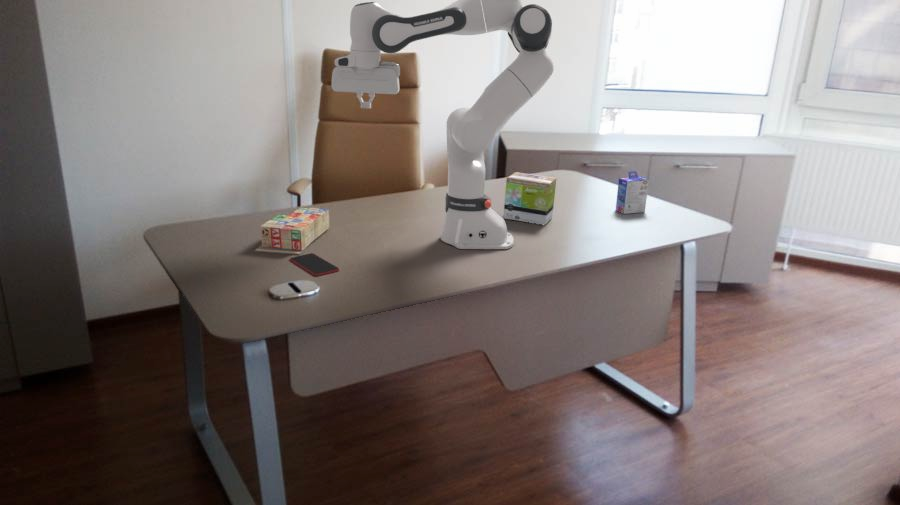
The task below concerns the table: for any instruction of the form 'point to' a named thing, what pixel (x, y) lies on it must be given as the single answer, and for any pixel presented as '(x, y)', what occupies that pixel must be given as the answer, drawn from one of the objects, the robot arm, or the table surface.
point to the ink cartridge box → (632, 194)
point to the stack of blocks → (295, 229)
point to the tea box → (529, 198)
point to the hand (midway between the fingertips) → (365, 108)
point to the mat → (278, 250)
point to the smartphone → (314, 264)
